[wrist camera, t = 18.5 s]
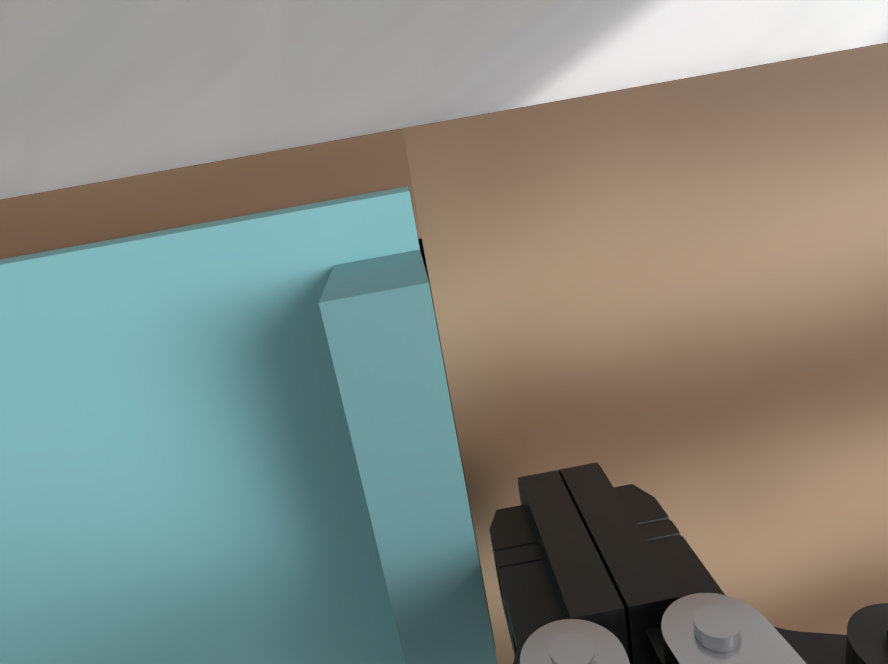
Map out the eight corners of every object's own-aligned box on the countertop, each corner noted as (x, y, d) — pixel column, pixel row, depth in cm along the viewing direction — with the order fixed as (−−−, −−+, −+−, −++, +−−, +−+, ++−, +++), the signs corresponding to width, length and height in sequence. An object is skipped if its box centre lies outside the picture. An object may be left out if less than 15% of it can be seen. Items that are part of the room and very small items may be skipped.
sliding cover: (498, 684, 15) (529, 839, 12) (87, 768, 15) (0, 951, 12) (407, 186, 11) (415, 208, 8) (-146, 285, 11) (-374, 350, 8)
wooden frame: (831, 551, 19) (911, 626, 16) (99, 699, 18) (45, 805, 15) (849, 49, 14) (963, 29, 11) (-117, 221, 14) (-250, 243, 11)
